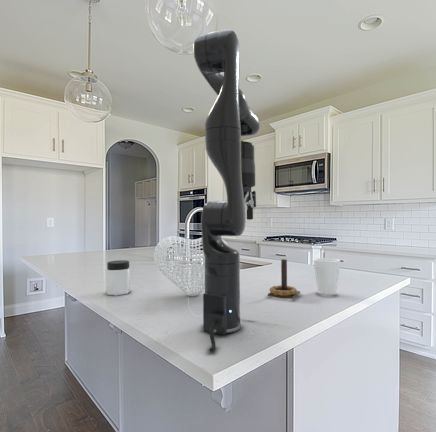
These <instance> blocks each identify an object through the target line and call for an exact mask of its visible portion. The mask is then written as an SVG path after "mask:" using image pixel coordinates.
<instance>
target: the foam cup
mask: <svg viewBox="0 0 436 432" xmlns="http://www.w3.org/2000/svg"><path fill="white" fill-rule="evenodd" d="M313 267H314V268H313V269H314V275H315V282H316V283H315V284H316V291H317V293H318V294H320V295H327V296H329V295H330V296H333V295H337V292H338V291H337V290H338V284H339V283H338V282H339V275H340V269H341V259H338V258H331V257H330V258H328V257H316V258H313Z"/></svg>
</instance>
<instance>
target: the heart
mask: <svg viewBox="0 0 436 432" xmlns="http://www.w3.org/2000/svg"><path fill="white" fill-rule="evenodd" d="M222 241H223V242H224V243H225V244H226V245H227V246H229V244H228V242H227V241H226V240H224V238H222ZM174 247H175V249H174ZM178 248H179V249H178ZM201 249H203V246H202V237H199V238H196V239H191V238H190V239H189V238H187V237H186V238H185V237H182V236H178V235H169V236H166V237H164V238H162V239H161V240H160V241H158V242H157V244H156V245H155V248H154V251H153V258H154V263H155V265H156V267H157V268H158V270H159V271H160V272H161V273H162V274H163V276H164V277H165V278H167V279H168V280H169V281H171V283H173V284H174V285H175V286H176V287H177V288H179V290H180V291H182V292H183V293H184V294H185V295H187V296H189V297H195V296H198V295H199V294H200V293H202V292H203V291H205V257H204V253H203V250H201ZM191 251H193V252H191ZM174 252H175V253H174ZM201 253H202V255H201ZM191 255H192V256H191ZM194 255H195V256H194ZM187 259H188V260H187ZM191 259H192V260H191ZM198 259H199V260H198Z"/></svg>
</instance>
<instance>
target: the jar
mask: <svg viewBox="0 0 436 432" xmlns="http://www.w3.org/2000/svg"><path fill="white" fill-rule="evenodd" d="M105 273H106V295H108V296H116V297H117V296H121V295H123V296H124V295H128V294H129V293H130V291H131V267H130V261H129V260H124V259H123V260H121V259H120V260H118V259H117V260H111V261H107V263H106V272H105Z"/></svg>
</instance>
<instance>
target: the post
mask: <svg viewBox="0 0 436 432" xmlns="http://www.w3.org/2000/svg"><path fill="white" fill-rule="evenodd" d="M280 260H281V261H280V271H281V272H280V273H281V274H280V275H281V277H280V278H281V280H280V281H281V284H280V286H281V290H282V291H283V290H287V286H288V260H287V259H286V258H282V259H280ZM300 294H301V291H300V290H297V293H296V294H295V295H290V296H280V295H275V294H272V293H271V292H270V291H269V293H267V296H269V297H276V298H284V299H291V300H293V299H295V298H296V297H297V296H298V295H300Z"/></svg>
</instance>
